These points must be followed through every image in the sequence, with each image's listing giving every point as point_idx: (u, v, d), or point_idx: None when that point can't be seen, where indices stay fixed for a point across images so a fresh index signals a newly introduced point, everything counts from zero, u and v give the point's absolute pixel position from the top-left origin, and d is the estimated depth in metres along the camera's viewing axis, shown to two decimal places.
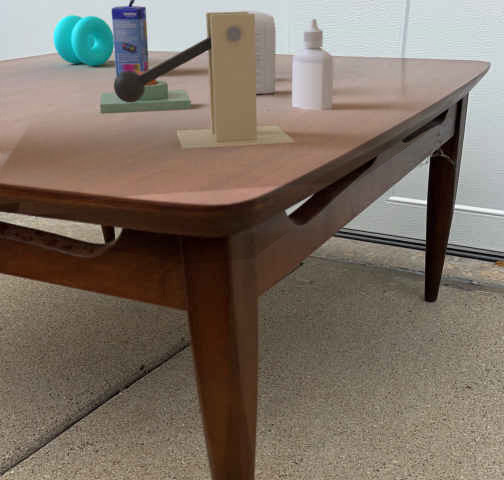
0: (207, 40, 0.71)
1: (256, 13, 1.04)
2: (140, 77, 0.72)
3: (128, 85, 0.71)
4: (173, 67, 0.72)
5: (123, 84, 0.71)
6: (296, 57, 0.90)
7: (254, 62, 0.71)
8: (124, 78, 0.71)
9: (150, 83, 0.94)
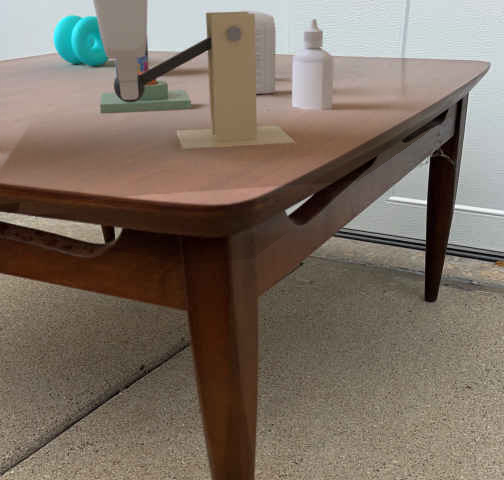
0: (207, 40, 0.71)
1: (256, 13, 1.04)
2: (140, 77, 0.72)
3: None
4: (173, 67, 0.72)
5: None
6: (296, 57, 0.90)
7: (254, 62, 0.71)
8: None
9: (150, 83, 0.94)
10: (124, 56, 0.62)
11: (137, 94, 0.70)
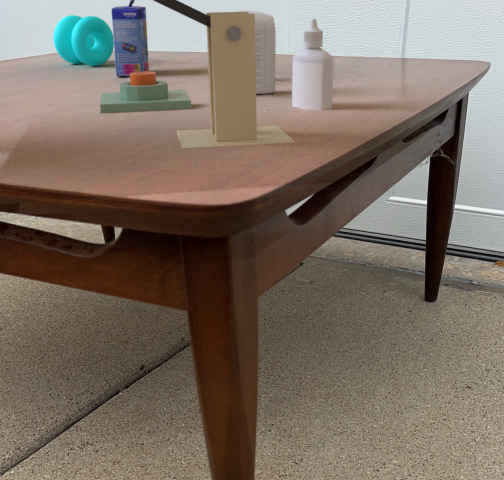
0: (209, 17, 0.70)
1: (256, 13, 1.04)
2: None
3: None
4: (166, 5, 0.69)
5: None
6: (296, 57, 0.90)
7: (254, 62, 0.71)
8: None
9: (150, 83, 0.94)
10: None
11: None
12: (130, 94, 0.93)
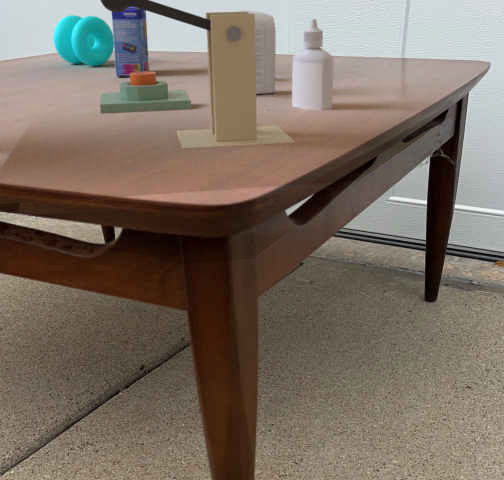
0: (208, 20, 0.70)
1: (256, 13, 1.04)
2: None
3: None
4: (164, 14, 0.69)
5: None
6: (296, 57, 0.90)
7: (254, 62, 0.71)
8: None
9: (150, 83, 0.94)
10: None
11: None
12: (130, 94, 0.93)
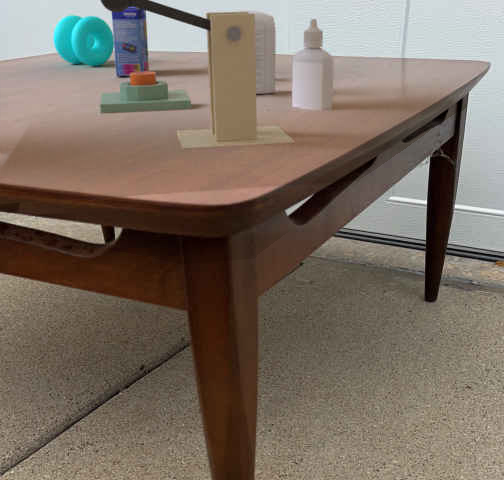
0: (208, 20, 0.70)
1: (256, 13, 1.04)
2: None
3: None
4: (164, 14, 0.69)
5: None
6: (296, 57, 0.90)
7: (254, 62, 0.71)
8: None
9: (150, 83, 0.94)
10: None
11: None
12: (130, 94, 0.93)
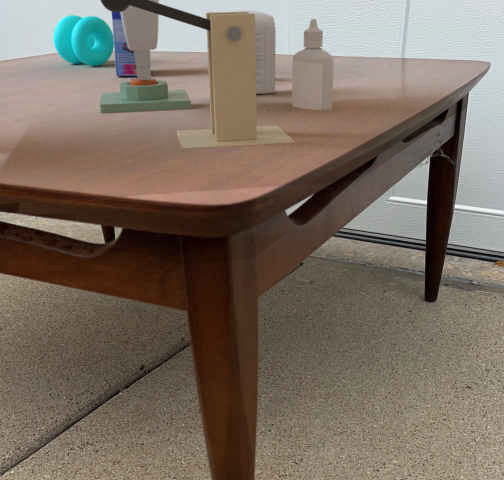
0: (208, 20, 0.70)
1: (256, 13, 1.04)
2: None
3: None
4: (164, 14, 0.69)
5: None
6: (296, 57, 0.90)
7: (254, 62, 0.71)
8: None
9: None
10: (141, 48, 0.84)
11: (149, 76, 0.94)
12: (130, 94, 0.93)
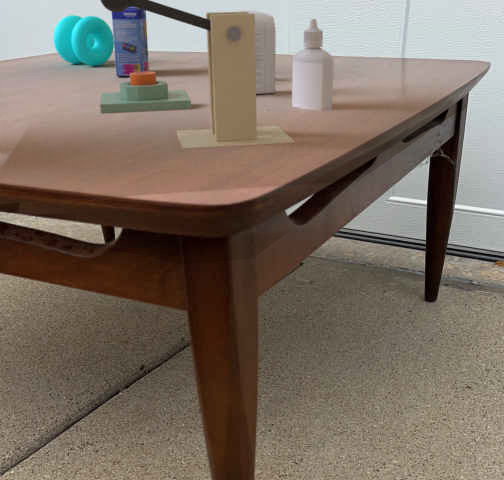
0: (208, 20, 0.70)
1: (256, 13, 1.04)
2: None
3: None
4: (164, 14, 0.69)
5: None
6: (296, 57, 0.90)
7: (254, 62, 0.71)
8: None
9: (150, 83, 0.94)
10: None
11: None
12: (130, 94, 0.93)
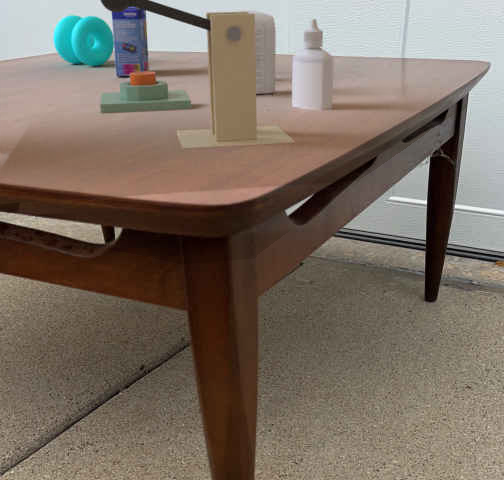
0: (208, 20, 0.70)
1: (256, 13, 1.04)
2: None
3: None
4: (164, 14, 0.69)
5: None
6: (296, 57, 0.90)
7: (254, 62, 0.71)
8: None
9: (150, 83, 0.94)
10: None
11: None
12: (130, 94, 0.93)
